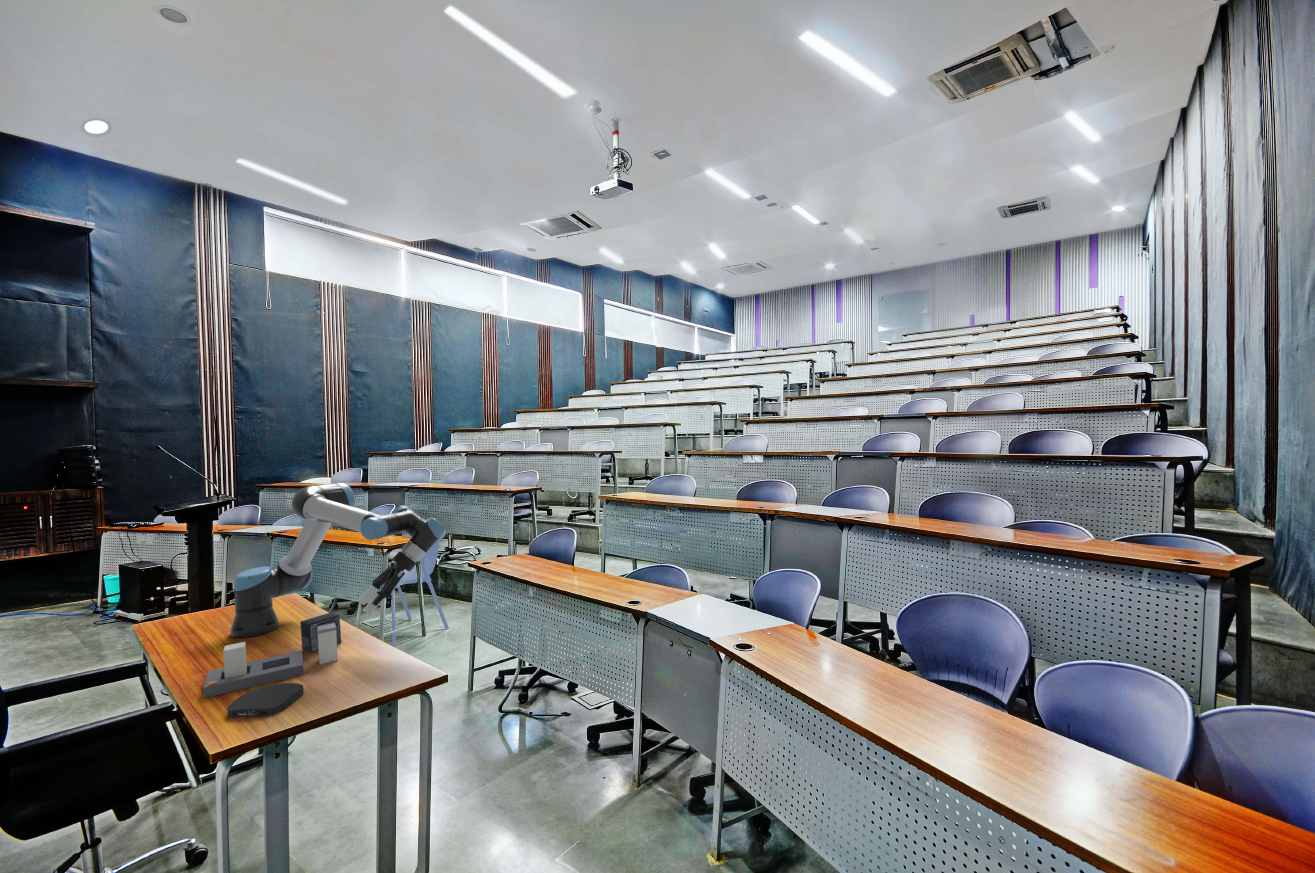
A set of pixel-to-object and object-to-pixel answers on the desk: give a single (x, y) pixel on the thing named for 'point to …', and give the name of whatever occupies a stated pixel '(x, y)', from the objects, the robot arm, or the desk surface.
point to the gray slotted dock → (250, 670)
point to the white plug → (327, 643)
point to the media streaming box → (265, 700)
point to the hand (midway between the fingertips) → (363, 607)
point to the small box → (311, 632)
